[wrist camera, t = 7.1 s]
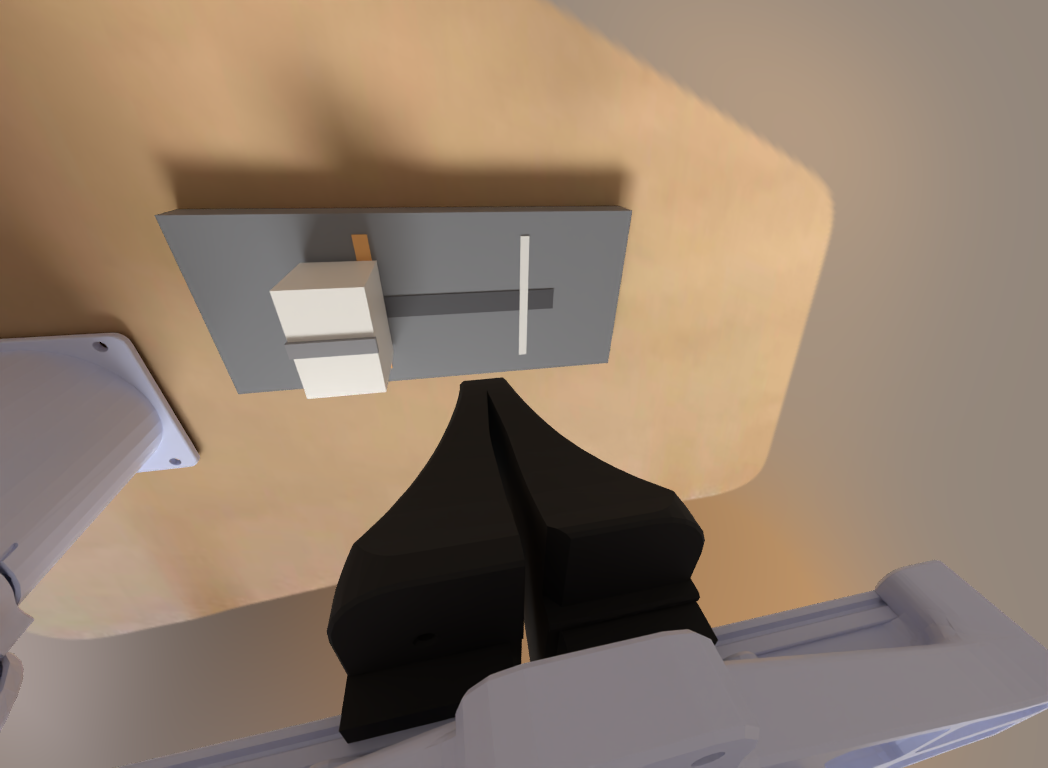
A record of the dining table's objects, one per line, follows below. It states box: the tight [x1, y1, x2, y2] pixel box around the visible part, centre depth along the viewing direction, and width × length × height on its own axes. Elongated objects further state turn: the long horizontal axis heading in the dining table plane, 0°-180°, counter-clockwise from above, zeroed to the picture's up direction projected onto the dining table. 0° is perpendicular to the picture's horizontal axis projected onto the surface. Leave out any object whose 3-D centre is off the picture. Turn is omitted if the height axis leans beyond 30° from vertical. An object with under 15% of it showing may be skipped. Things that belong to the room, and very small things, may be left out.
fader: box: [270, 260, 394, 399], centre depth 15 cm, size 3×4×4 cm
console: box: [155, 206, 632, 394], centre depth 18 cm, size 19×8×2 cm, turn 88°
